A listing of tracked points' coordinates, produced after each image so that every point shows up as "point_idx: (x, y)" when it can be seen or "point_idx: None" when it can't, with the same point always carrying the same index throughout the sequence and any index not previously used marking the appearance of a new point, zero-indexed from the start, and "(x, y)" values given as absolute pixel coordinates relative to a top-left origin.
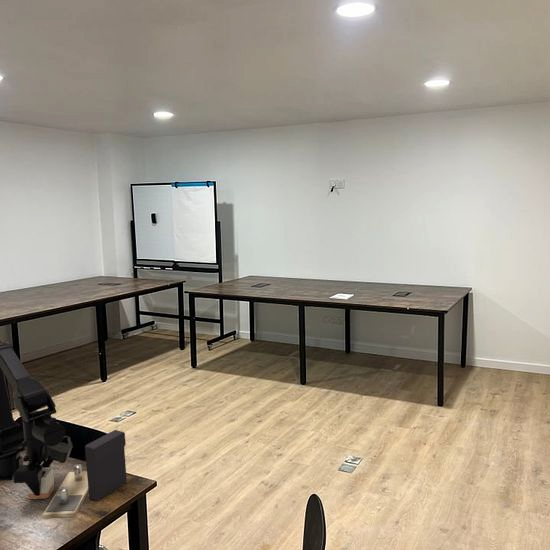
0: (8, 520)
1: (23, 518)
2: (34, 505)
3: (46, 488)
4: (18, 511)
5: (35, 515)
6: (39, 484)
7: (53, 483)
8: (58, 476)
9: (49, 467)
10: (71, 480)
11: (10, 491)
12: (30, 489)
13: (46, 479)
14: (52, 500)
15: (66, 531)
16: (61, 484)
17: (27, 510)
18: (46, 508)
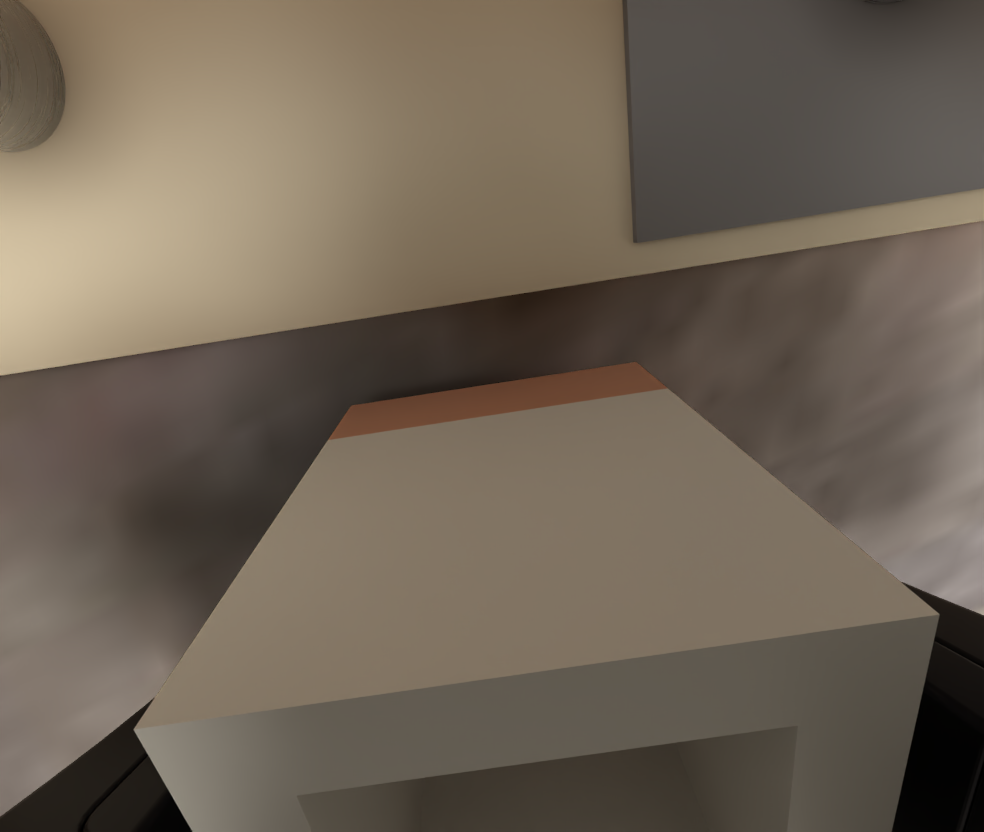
0: (971, 584)
1: (980, 456)
2: None
3: (706, 428)
4: None
5: (953, 345)
6: (928, 599)
7: (351, 437)
8: (5, 520)
9: (120, 795)
10: (75, 211)
11: None
12: None
13: (809, 537)
14: (737, 241)
15: None
16: (246, 336)
17: (812, 496)
18: (969, 221)
